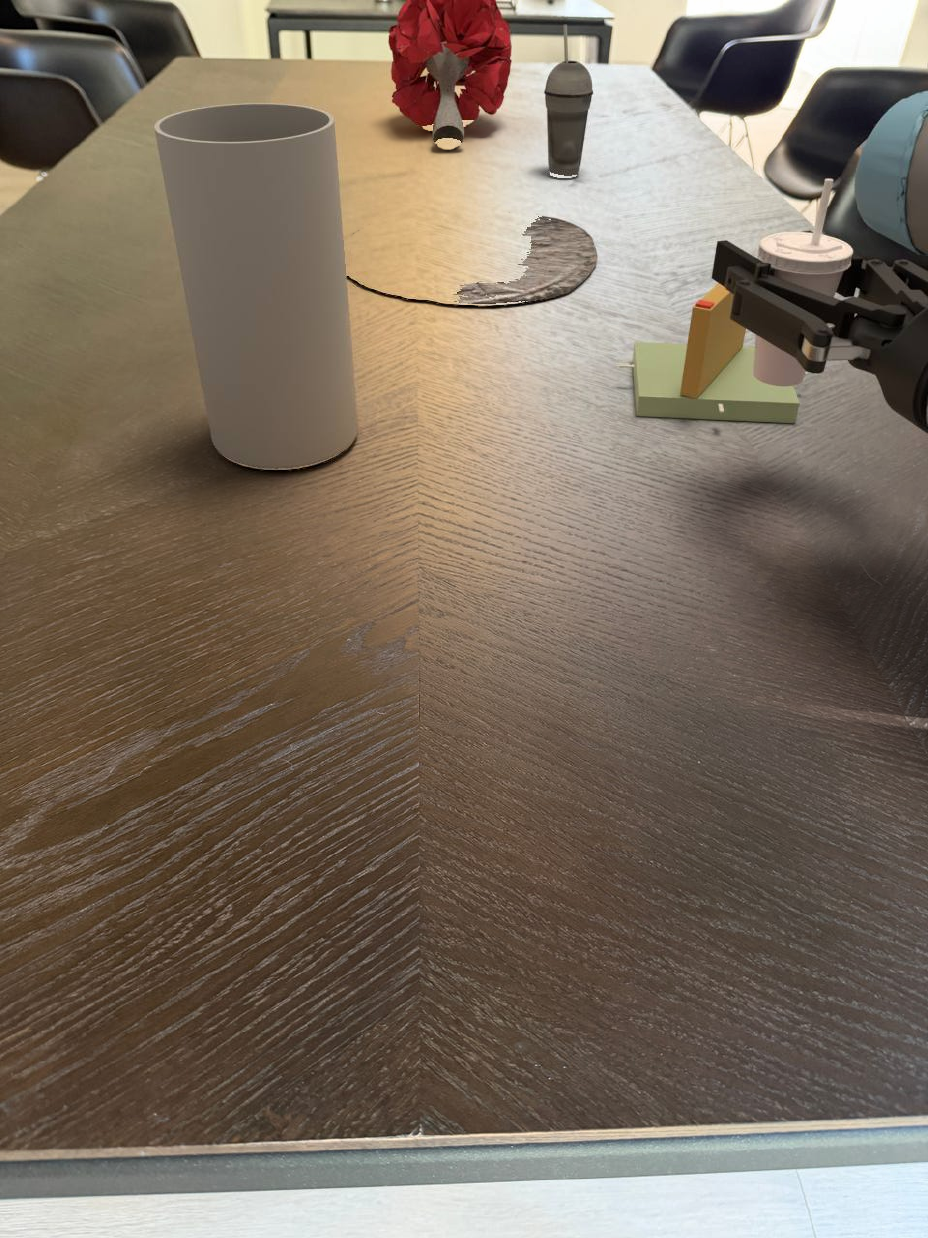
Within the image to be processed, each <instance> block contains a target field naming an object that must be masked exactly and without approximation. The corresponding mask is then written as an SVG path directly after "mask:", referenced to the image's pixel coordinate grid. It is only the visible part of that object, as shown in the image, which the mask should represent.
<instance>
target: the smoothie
mask: <svg viewBox="0 0 928 1238" xmlns="http://www.w3.org/2000/svg"><path fill="white" fill-rule="evenodd" d="M833 185H834V179H833V178H825V179H824V182H823V187H822V190H821V195H820V200H819V204H818V208H817V213H816V218H815V223H814V227H813V231H812V232H813V233H806V232H803V231H785V232H784V231H783V232H777V233H772V234H769V235H767V236H764V237H763V238H762V239H761V240H760V241H759V245H758V250H757V252H756V258H757V259H759V260H761V261H762V262H764V263H770V264H771V267H772V268H774V269H775V272H774V277H776V278H779V279H782V280H785V281H788V282H791V283H793V284H796V285H799V286H802V287H805V288H808V289H811V290H813V291H816V292H819V293H822V294H825V295H828V296H831V297H833V298H835V296H836V294H837V293H836V291H837V288H838V285H839V282H840V280H841V277H842V274H843V272H844V270H847V269H848V268H849V267H850V266H851V258H852V254H853V253H854V249H853V248H852V246H851V245H850V244H849V243H847V242H845V241H843V240H842V239H840V238H836V237H834V236H831V235H825V234H822V233H823V228H824V225H825V221H826V215H827V211H828V208H829V207H828V206H829V203H830V198H831V193H832V189H833ZM754 339H755V341H754V347H755V352H754V367H753V375H754V377H755V378H756V379H757V380H759V381H761V382H763V383H766V384H769V385H774V386H794V387H795V386H797V385H799V384H802V382H803V381H804V379H805V376H806V375H805V373H806V372H807V371H805V370H804V369H803V367H802V366H801V365H800V363H799V362H798V361H797V359H796V358H794V357H793V356H791V355H789V354H788V353H786V352H784V351H783V350H781V349H779V348H778V347H776V346H774V345H773V344H771V343H769V342H768V341H766V340H764V339H763V338H761V337H759V336H758V335H756V334H755V338H754Z"/></svg>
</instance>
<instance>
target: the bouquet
mask: <svg viewBox="0 0 928 1238" xmlns="http://www.w3.org/2000/svg"><path fill="white" fill-rule="evenodd" d="M396 21H397V24H395V25H391V26H390V27H389V29H388V33H389V34H388V41H387V42H388V46H389V50H390V51H391V53H392V54H391V55H392V61H391V66H390V67H391V69H390V74H391V81H393V83H394V84H395V90H394V91H393V92H392V95H391V97H392V99H391V103H392V104H394V105H395V106H396V107H397V108H398V109H399V112H400V113H401V114H402V115H403V116H404V117H405V118H407V119H409V120H410V121H411V122H412V123H413V124H415V125H416V126H418V125H419V126H418V127H422V126H427V125H432V124H434V125H433V131H432V140H433V143H434V142H436V141H437V140H438V139H442V138H453V139H457V140H460V141H461V143H462V144H463V143H464V137H465V127H463V122H462V120H475V121H477V119H478V117H479V115H480V112H481V109H482V111H483V112H484V113H486V114H488V115H490V116H494V115H496V113H497V112H498V110H499V109H500V108H501V106H502V105H503V102H504V98H505V95H504V94H505V92H506V90H507V88H508V84H509V77H510V74H511V66H512V61H513V60H512V59H511V57H512V49H513V48H512V41H511V26H510V24H509V23H508V22H507V20H506V19H505V18H503V16H502V12H501V11H500V8H499V7H498V3H497V0H406V1H405V2H404V3H403V4H402V6H401V8H400V9H399V12H398V15H397V18H396ZM425 70H426V71H427V72H428V73H427V74H426V75H422V74H423V73H424V71H425ZM456 87H464V88H459V89H460V92H459V95H458V94H457V92H456ZM480 108H481V109H480Z"/></svg>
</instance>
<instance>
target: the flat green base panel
mask: <svg viewBox="0 0 928 1238" xmlns="http://www.w3.org/2000/svg"><path fill="white" fill-rule="evenodd" d="M633 344H634V345H633V351H632V352H633V353H632V364H621V363H620V364H619V368H624V369H632V371H633V373H632V374H633V383H634V384H633V386H634V400H635V402H634V403H635V413H636V414H635V416H636V417H645V418H646V417H647V418H648V417H649V418H673V419H690V420H691V419H693V420H711V421H713V420H714V421H734V422H735V421H736V422H759V423H778V424H796V421H797V418H798V413H799V409H800V405H801V402H800V400H799V397H798V393H797V392H796V389H795V385H794V386H774V385H769V384H766V383H763V382H761V381H759V380H757V379H756V378H755V377H754V375H753V367H754V352H755V346H746V345H745V346H744V345H743V347H742V348H741V349H740V350H739V352H738V353H737V354H736V355H735V356H734V357H733V358H732V359H731V361H730V362H729V363H728V364H727V365H726V366H725V367H724V368H723V370H722V371H721V372H720V373H719V374H718V375H717V376H716V377H715V379H714V380H713V381H712V382H711V383H710V384H709V385H708V386H707V388H706V389H705V390H704V391H703V392H702V393H701V394H700V395H699V397H698V398H697V399H696V398H691V397H687V396H683V395H680V390H681V384H682V377H683V370H684V363H685V357H686V350H687V343H671V342H669V343H667V342H647V341H645V342H644V341H635V342H634V343H633ZM808 375H809V372H807V371H806V373H805V376H808Z"/></svg>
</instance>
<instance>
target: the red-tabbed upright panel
mask: <svg viewBox="0 0 928 1238" xmlns="http://www.w3.org/2000/svg"><path fill="white" fill-rule="evenodd" d="M733 296H734V295H733V294H732V293H730V292H729V291H727V290H726V289H725V287H724V286H722V285H721V284H719V283H718V282H717V284H716V285H714V287H712V289H710V290H709V291H708V292H707V293H706V294H705V295H704V296H703V297H702V298H701V299H699V300H698V301H696V303H695V304H694V305H693V306H692V311H691V317H690V323H689V331H688V337H687V343H686V344H687V350H686V357H685V363H684V370H683V377H682V384H681V390H680V395H683V396H687V397H691V398H696V399H697V398H698V397H699V395H700V394H701V393H702V392H703V391H704V390H705V389H706V388H707V386H708V385H709V384H710V383H711V382H712V381H713V380H714V379H715V377H716V376H717V375H718V374H719V373H720V372H721V371H722V370H723V368H724V367H725V366H726V365H727V364H728V363H729V362H730V361H731V359H732V358H733V357H734V356H735V355H736V354H737V353H738V352H739V350H740V349H741V348H742V347H743V346H744V342H745V338H746V337H745V336H746V331H747V329H746V328H744V327H743V326H741V325H739V324H738V323H736V322H734V321H733V320H731V319H730V313H731V307H732V301H733Z"/></svg>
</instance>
